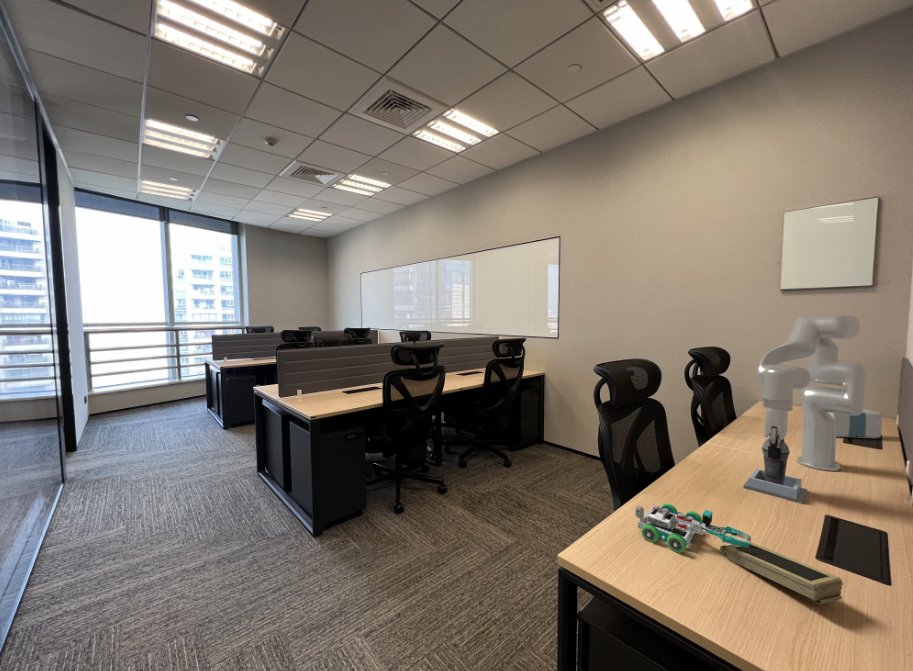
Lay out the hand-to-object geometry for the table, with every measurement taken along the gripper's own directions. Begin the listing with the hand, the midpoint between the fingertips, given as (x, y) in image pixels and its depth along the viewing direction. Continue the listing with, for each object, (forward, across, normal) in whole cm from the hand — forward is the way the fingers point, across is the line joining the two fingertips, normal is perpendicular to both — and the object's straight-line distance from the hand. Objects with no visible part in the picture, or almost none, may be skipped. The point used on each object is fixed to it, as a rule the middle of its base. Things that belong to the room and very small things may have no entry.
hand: (776, 455), depth 126 cm
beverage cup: (+10, 0, 0) cm, 10 cm away
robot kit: (+12, +54, -10) cm, 56 cm away
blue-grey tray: (+12, 0, 0) cm, 12 cm away
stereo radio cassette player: (+13, -104, +14) cm, 105 cm away
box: (+12, +57, +7) cm, 59 cm away
